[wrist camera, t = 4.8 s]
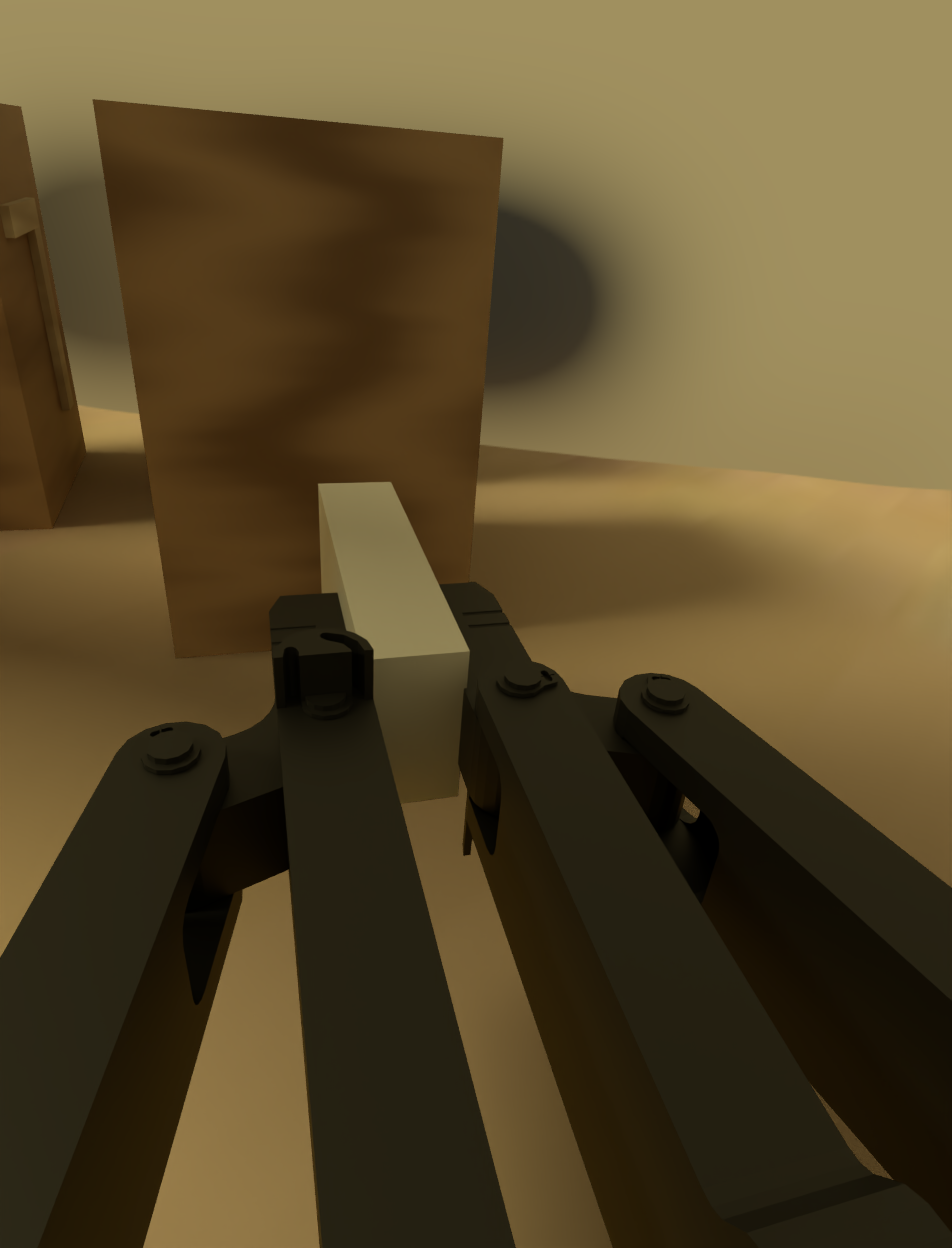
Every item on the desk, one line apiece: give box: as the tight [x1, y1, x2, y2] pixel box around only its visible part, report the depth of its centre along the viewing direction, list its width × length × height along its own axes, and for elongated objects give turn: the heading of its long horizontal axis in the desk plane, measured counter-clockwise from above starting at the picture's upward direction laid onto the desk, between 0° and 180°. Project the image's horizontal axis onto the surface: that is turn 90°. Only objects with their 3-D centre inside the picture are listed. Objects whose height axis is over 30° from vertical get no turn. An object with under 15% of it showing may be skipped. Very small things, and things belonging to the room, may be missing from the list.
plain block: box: [93, 99, 503, 658], centre depth 25 cm, size 9×9×14 cm
